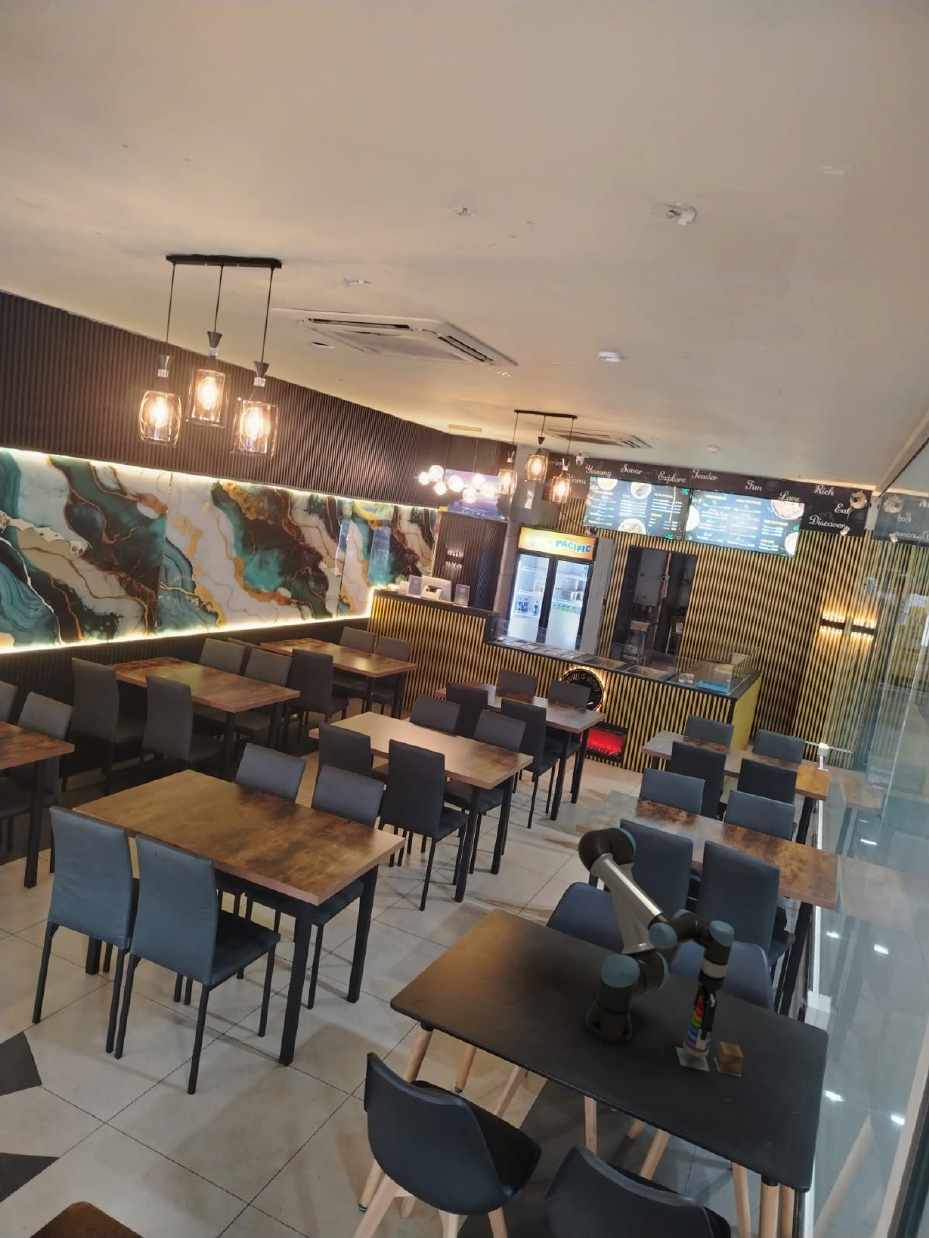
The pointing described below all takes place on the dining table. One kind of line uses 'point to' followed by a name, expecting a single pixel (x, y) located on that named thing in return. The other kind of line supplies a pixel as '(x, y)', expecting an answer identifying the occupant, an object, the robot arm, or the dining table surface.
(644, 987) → the robot arm
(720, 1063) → the walnut cube
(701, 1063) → the paired pale square pads
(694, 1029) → the stacking toy
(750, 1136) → the dining table surface
